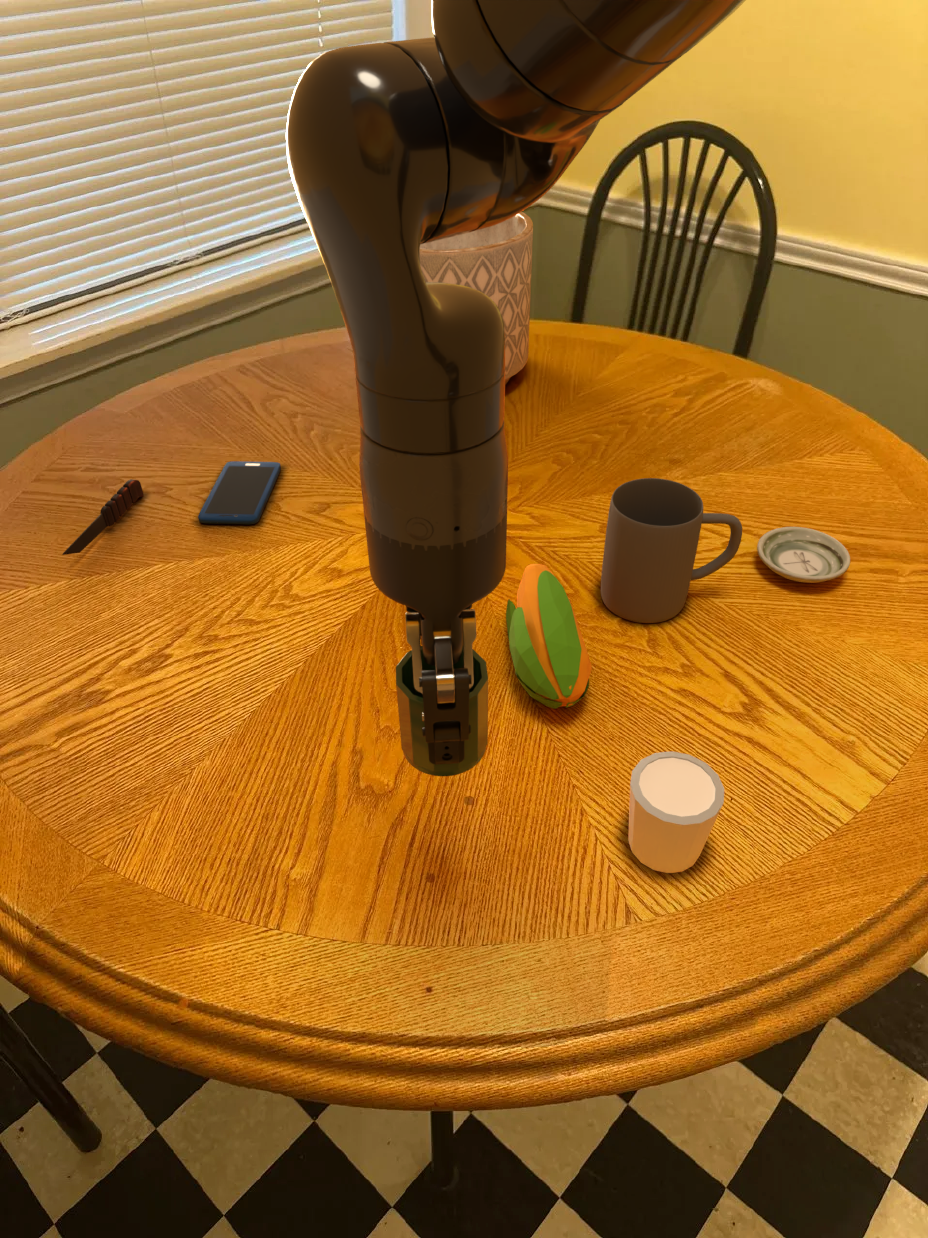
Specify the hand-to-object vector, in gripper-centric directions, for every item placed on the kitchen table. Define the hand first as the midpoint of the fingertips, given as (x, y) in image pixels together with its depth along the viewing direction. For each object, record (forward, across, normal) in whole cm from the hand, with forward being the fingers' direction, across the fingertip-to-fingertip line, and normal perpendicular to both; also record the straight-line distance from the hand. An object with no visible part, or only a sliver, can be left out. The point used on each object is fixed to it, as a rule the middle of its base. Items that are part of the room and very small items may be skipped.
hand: (444, 721), depth 56 cm
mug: (+17, +32, -25) cm, 43 cm away
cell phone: (+17, +56, +23) cm, 63 cm away
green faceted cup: (+2, 0, 0) cm, 2 cm away
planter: (+17, +90, -5) cm, 92 cm away
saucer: (+17, +35, -41) cm, 56 cm away
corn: (+17, +24, -10) cm, 31 cm away
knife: (+17, +50, +38) cm, 65 cm away
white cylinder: (+17, +1, -17) cm, 24 cm away
